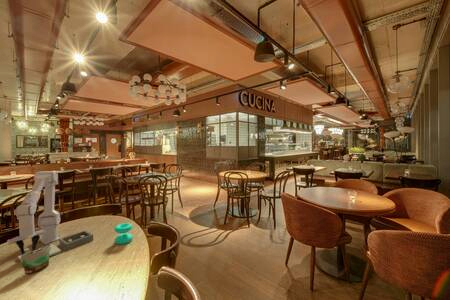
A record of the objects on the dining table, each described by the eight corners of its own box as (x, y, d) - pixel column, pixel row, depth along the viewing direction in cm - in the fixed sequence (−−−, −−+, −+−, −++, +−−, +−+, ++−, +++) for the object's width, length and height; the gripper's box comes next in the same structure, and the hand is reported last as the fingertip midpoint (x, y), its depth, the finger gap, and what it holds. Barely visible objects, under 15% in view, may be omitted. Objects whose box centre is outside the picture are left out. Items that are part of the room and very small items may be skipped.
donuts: (110, 227, 125) (123, 221, 134) (111, 243, 125) (124, 236, 135) (123, 230, 122) (135, 223, 131) (123, 246, 122) (136, 238, 132)
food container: (31, 278, 95) (30, 257, 94) (21, 276, 96) (20, 255, 95) (58, 262, 107) (57, 243, 106) (48, 260, 108) (47, 242, 107)
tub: (59, 244, 124) (59, 239, 124) (85, 235, 136) (85, 230, 136) (66, 250, 118) (66, 244, 118) (93, 240, 130) (93, 234, 130)
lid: (18, 259, 109) (17, 249, 109) (53, 247, 122) (52, 237, 122) (24, 267, 103) (24, 256, 103) (61, 253, 115) (60, 243, 115)
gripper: (9, 234, 99) (10, 261, 100) (47, 223, 111) (48, 248, 112) (5, 230, 103) (7, 256, 104) (42, 220, 115) (44, 244, 116)
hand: (28, 252), depth 108 cm, fingers open, 4 cm apart
